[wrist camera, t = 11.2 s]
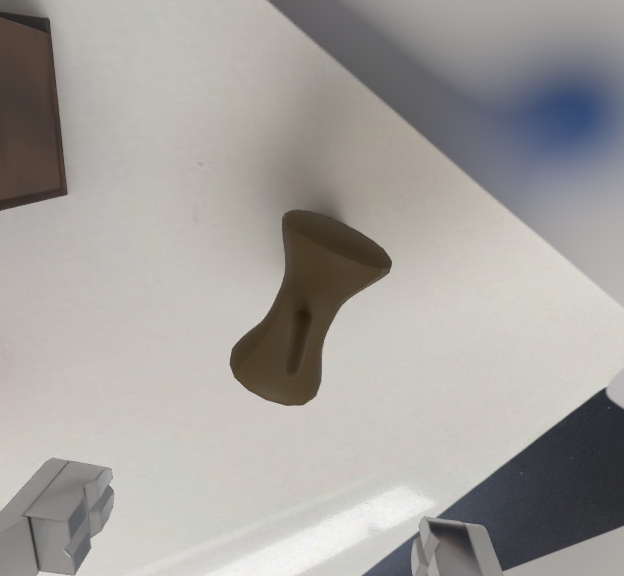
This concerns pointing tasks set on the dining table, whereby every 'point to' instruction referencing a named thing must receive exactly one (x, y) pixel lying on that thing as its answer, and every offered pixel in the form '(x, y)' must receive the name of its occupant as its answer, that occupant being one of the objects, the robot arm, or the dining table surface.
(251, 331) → the kendama
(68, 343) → the dining table surface
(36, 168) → the cabinet
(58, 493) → the robot arm
